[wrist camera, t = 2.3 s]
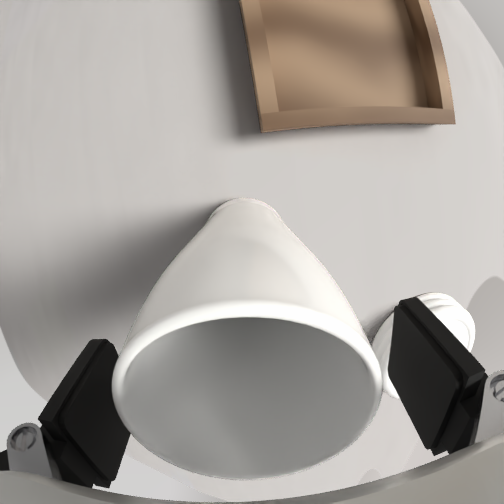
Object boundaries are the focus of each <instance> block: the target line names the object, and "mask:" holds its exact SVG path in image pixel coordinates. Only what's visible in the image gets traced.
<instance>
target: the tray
mask: <svg viewBox="0 0 504 504" xmlns="http://www.w3.org/2000/svg"><path fill="white" fill-rule="evenodd" d="M239 5H240V10H241V16H242V21H243V27H244V32H245V38H246V44H247V50H248V55H249V61H250V67H251V73H252V79H253V85H254V92H255V98H256V104H257V111H258V117H259V123H260V130H261V133H266V132H274V131H282V130H291V129H301V128H312V127H325V126H340V125H361V124H456V123H455V114H454V107H453V99H452V93H451V87H450V81H449V75H448V70H447V65H446V61H445V56H444V52H443V47H442V43H441V39H440V36H439V32H438V28H437V25H436V21H435V18H434V15H433V11H432V8H431V5H430V2H429V0H239Z"/></svg>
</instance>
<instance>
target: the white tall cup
mask: <svg viewBox="0 0 504 504" xmlns="http://www.w3.org/2000/svg"><path fill="white" fill-rule="evenodd" d="M382 390H383V378H382V372H381V368H380V365H379V362H378V359H377V357H376V355H375V353H374V351H373V349H372V347H371V345H370V343H369V341H368V338H367V336H366V334H365V332H364V330H363V328H362V326H361V324H360V322H359V320H358V318H357V316H356V314H355V313H354V311H353V309H352V307H351V305H350V303H349V302H348V300H347V298H346V297H345V295H344V293H343V292H342V290H341V289H340V287H339V286H338V284H337V283H336V281H335V280H334V278H333V277H332V276H331V274H330V273H329V272H328V270H327V269H326V268H325V266H324V265H323V264H322V263H321V262H320V260H319V259H318V258H317V257H316V256H315V255H314V254H313V253H312V252H311V251H310V250H309V248H308V247H307V246H306V245H305V244H304V243H303V242H302V241H301V240H300V239H299V238H298V237H297V236H296V235H295V234H294V233H293V232H292V231H291V230H290V229H289V227H288V226H287V225H286V224H285V223H284V222H283V220H282V219H281V217H280V216H279V214H278V213H277V212H276V211H275V210H274V209H273V208H272V207H271V206H269V205H268V204H266V203H264V202H262V201H260V200H257V199H253V198H237V199H233V200H230V201H228V202H226V203H224V204H222V205H221V206H219V207H218V208H217V209H216V210H215V211H214V212H213V213H212V214H211V216H210V217H209V219H208V220H207V222H206V223H205V225H204V226H203V227H202V228H201V229H200V230H199V231H198V232H197V233H196V235H195V236H194V237H193V238H192V239H191V240H190V241H189V242H188V243H187V244H186V246H185V247H184V248H183V249H182V250H181V251H180V252H179V253H178V254H177V256H176V257H175V258H174V259H173V260H172V261H171V263H170V264H169V265H168V267H167V268H166V269H165V271H164V272H163V273H162V274H161V276H160V277H159V279H158V280H157V282H156V283H155V285H154V286H153V288H152V290H151V291H150V293H149V295H148V296H147V298H146V300H145V302H144V303H143V305H142V307H141V309H140V311H139V313H138V315H137V317H136V319H135V321H134V323H133V325H132V327H131V329H130V332H129V334H128V336H127V339H126V341H125V343H124V346H123V348H122V351H121V353H120V355H119V357H118V359H117V361H116V364H115V367H114V370H113V376H112V396H113V401H114V405H115V408H116V410H117V413H118V415H119V417H120V419H121V421H122V422H123V424H124V425H125V427H126V428H127V430H128V431H129V432H130V433H131V434H132V435H133V437H134V438H135V439H136V440H137V441H138V442H139V443H140V444H142V445H143V446H144V447H145V448H147V449H148V450H149V451H150V452H152V453H153V454H155V455H156V456H158V457H160V458H161V459H163V460H165V461H167V462H169V463H171V464H173V465H175V466H177V467H180V468H182V469H185V470H188V471H190V472H194V473H197V474H201V475H205V476H209V477H215V478H221V479H230V480H263V479H272V478H278V477H283V476H288V475H292V474H296V473H299V472H302V471H305V470H308V469H311V468H313V467H315V466H318V465H320V464H322V463H324V462H326V461H328V460H330V459H332V458H333V457H335V456H337V455H338V454H340V453H341V452H343V451H344V450H345V449H347V448H348V447H349V446H350V445H352V444H353V443H354V442H355V441H356V440H357V439H358V438H359V437H360V436H361V435H362V434H363V432H364V431H365V430H366V429H367V427H368V426H369V425H370V423H371V422H372V420H373V418H374V416H375V415H376V412H377V410H378V408H379V405H380V401H381V397H382Z"/></svg>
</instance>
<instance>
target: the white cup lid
mask: <svg viewBox="0 0 504 504" xmlns="http://www.w3.org/2000/svg"><path fill="white" fill-rule="evenodd" d="M417 298H419V299H420V300H421V301H422V302H423V303H424V304H425V305H426V306H427V307H428V308H429V309H430V311H431V312H432V313H433V314H434V315H435V316H436V317H437V318H438V319H439V320H440V321H441V322H442V323H443V324H444V325H445V326H446V327H447V328H448V329H449V330H450V331H451V332H452V333H453V334H454V336H455V337H456V338H457V339H458V340H459V341H460V342H461V343H462V344H463V345H464V346H465V347H466V349H467V350H468V351H469V352H470V351H471V349H472V346H473V342H474V338H475V325H474V322H473V319H472V317H471V316H470V314H469V313H468V311H466V310H465V309H464V308H463V307H462V306H461V305H460V304H459V303H457V302H456V301H455V300H454V299H453V298H452V297H450V296H448V295H446V294H442V293H427V294H423V295H420V296H417ZM393 318H394V312H393V313H392V314H391V315H390V316H389V317H388V318H387V319H386V321H385V322H384V323H383V324H382V326H381V327H380V328H379V330H378V332H377V334H376V335H375V338H374V340H373V343H372V346H371V347H372V349H373V351H374V353H375V355H376V357H377V359H378V362H379V365H380V368H381V372H382V378H383V390H384V392H385V393H387V394H388V395H389V396H391V397H393V398H396V399H400V397H399V396H398V394H397V392H396V390H395V388H394V386H393V384H392V383H391V381H390V379H389V376H388V362H389V354H390V346H391V338H392V328H393Z"/></svg>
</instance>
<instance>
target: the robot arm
mask: <svg viewBox="0 0 504 504" xmlns="http://www.w3.org/2000/svg"><path fill="white" fill-rule="evenodd" d="M118 357H119V356H118V354H117V351H116V349H115V347H114V345H113V344H112V343H110V342H109V341H108V340H107V339H92V340H90V341H89V343H88V344H87V345H86V347H85V348H84V350H83V351H82V352H81V354H80V355H79V357H78V358H77V360H76V361H75V363H74V364H73V365H72V367H71V368H70V370H69V371H68V373H67V374H66V376H65V377H64V379H63V380H62V382H61V383H60V385H59V386H58V388H57V389H56V391H55V392H54V394H53V395H52V397H51V398H50V400H49V402H48V403H47V405H46V406H45V408H44V409H43V411H42V413H41V414H40V416H39V418H38V420H39V421H40V422H41V424H42V426H41V428H39V427H38V426H37V425H36V424H33V423H24V424H21V425H19V426H17V427H16V428H15V429H13V430H12V432H11V433H10V435H9V436H8V439H7V450H5V451H3V452H0V504H504V370H501V371H497V372H494V373H493V374H491V375H490V376H489V377H488V376H487V374H486V373H485V369H484V368H483V367H482V365H481V364H480V363H479V362H478V361H477V360H476V359H475V357H473V356H472V354H471V353H470V352H469V351H468V350H467V349H466V347H465V346H464V345H463V344H462V343H461V342H460V341H459V340H458V339H457V338H456V337H455V336H454V334H453V333H452V332H451V331H450V330H449V329H448V328H447V327H446V326H445V325H444V324H443V323H442V322H441V321H440V320H439V319H438V318H437V317H436V316H435V315H434V314H433V313H432V312H431V311H430V309H429V308H428V307H427V306H426V305H425V304H424V303H423V302H422V301H421V300H420V299H419V298H417V297H413V298H409V299H404V300H401V301H400V302H399V305H398V306H395V308H394V318H393V328H392V338H391V346H390V354H389V362H388V376H389V379H390V381H391V383H392V384H393V386H394V388H395V390H396V392H397V394H398V396H399V397H400V399H401V401H402V403H403V405H404V407H405V409H406V411H407V413H408V415H409V417H410V419H411V421H412V423H413V425H414V426H415V428H416V430H417V432H418V434H419V436H420V439H421V440H422V442H423V444H424V446H425V448H426V449H431V451H432V453H433V455H434V456H435V455H438V454H440V453H442V452H445V451H448V453H449V455H447V456H445V457H442V458H440V459H438V460H435V461H432V462H430V463H427V464H425V465H422V466H419V467H416V468H414V469H411V470H408V471H405V472H402V473H399V474H396V475H393V476H389V477H386V478H383V479H379V480H376V481H373V482H369V483H365V484H361V485H357V486H353V487H349V488H345V489H340V490H335V491H330V492H325V493H320V494H314V495H307V496H301V497H294V498H286V499H277V500H266V501H252V502H226V503H225V502H223V503H220V502H219V503H218V502H215V503H212V502H209V503H208V502H185V501H170V500H158V499H150V498H142V497H135V496H129V495H123V494H117V493H112V492H107V491H102V490H97V489H92V486H93V484H95V485H96V486H101V487H105V488H109V487H110V484H111V481H114V480H115V478H116V476H117V473H118V469H119V467H120V464H121V460H122V458H123V455H124V452H125V449H126V446H127V443H128V440H129V437H130V434H131V433H130V432H129V431H128V430H127V428H126V427H125V425H124V424H123V422H122V421H121V419H120V417H119V415H118V413H117V410H116V408H115V405H114V401H113V396H112V376H113V370H114V367H115V364H116V361H117V359H118Z"/></svg>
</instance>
